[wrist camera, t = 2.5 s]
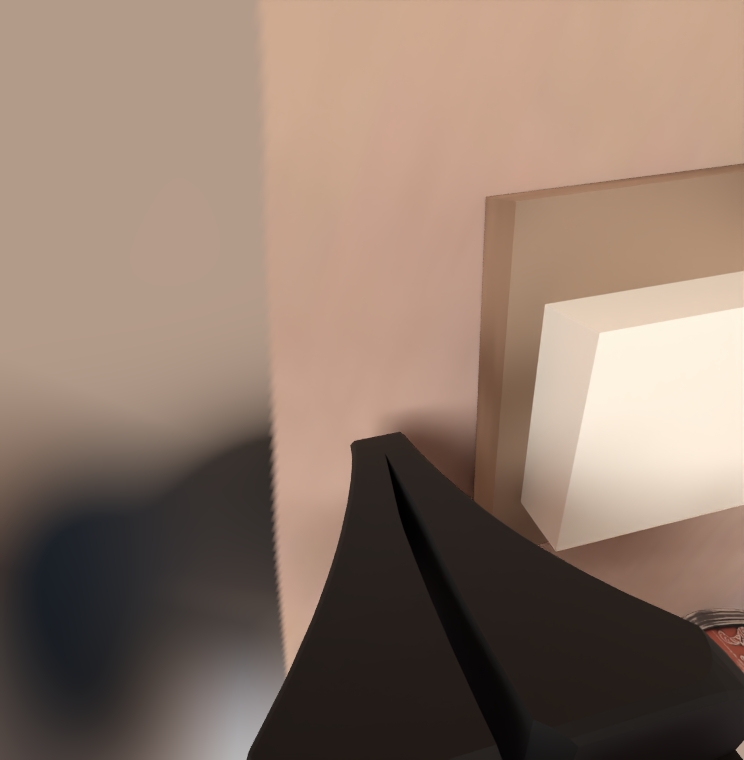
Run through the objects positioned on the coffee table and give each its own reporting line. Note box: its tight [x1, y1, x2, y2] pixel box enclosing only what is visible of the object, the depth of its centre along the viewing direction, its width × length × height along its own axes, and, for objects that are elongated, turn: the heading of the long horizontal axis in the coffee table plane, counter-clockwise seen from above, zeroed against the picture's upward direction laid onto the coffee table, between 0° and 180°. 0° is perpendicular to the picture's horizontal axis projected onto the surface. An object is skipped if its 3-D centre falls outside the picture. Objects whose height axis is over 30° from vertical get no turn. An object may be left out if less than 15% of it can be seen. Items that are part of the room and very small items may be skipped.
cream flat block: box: [521, 271, 744, 552], centre depth 11 cm, size 7×7×2 cm
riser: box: [474, 164, 744, 545], centre depth 13 cm, size 12×10×2 cm
